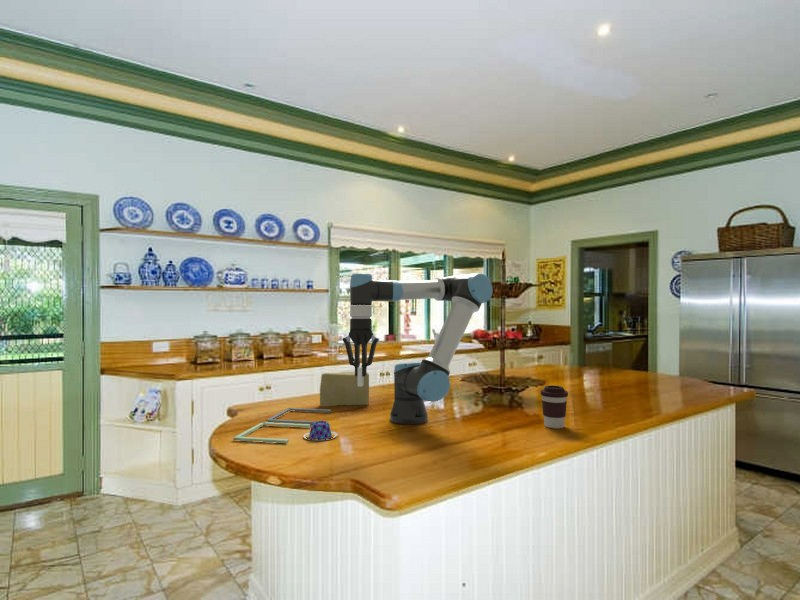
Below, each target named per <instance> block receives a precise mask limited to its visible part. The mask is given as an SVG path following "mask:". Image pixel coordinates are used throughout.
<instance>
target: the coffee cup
mask: <svg viewBox="0 0 800 600" xmlns="http://www.w3.org/2000/svg"><path fill="white" fill-rule="evenodd" d="M540 396H541V398H542V400H541V406H542V415H543V425H544V426H545V427H546V428H550V429H556V430H557V429H564V428H565V422H566V416H567V415H566V414H567V404H568V403H567V397H568V396H569V392H568V391H567V390H565V388H564V386H561V385H544V388H543V389H540Z"/></svg>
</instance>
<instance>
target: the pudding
mask: <svg viewBox="0 0 800 600" xmlns="http://www.w3.org/2000/svg"><path fill="white" fill-rule="evenodd" d="M331 433H333V434H334V435H335V436H334V437H333V438H331V439H332V440H333V439H334V438H337V437H338V435H339V434H338V433H337V432H336V431H333V430H331V427H330V423H329V421H327V420H317V421H315V422H314V423H313V424H312V425H310V431H309V432H306V433H305V434H303V435H302V436H303V438H304V439H306V440H307V441H308V440H309V441H311V440H310V439H312V440H313V439H315V440H316V439H318V440H316V441H322V440H325V439H326V440H325V441H327V440H329V439H327V438H329V437H332V434H331ZM308 434H309V437H311V438H310V439H307V438H306V437H305V436H306V435H308ZM321 439H322V440H321ZM331 439H330V440H331Z"/></svg>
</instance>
